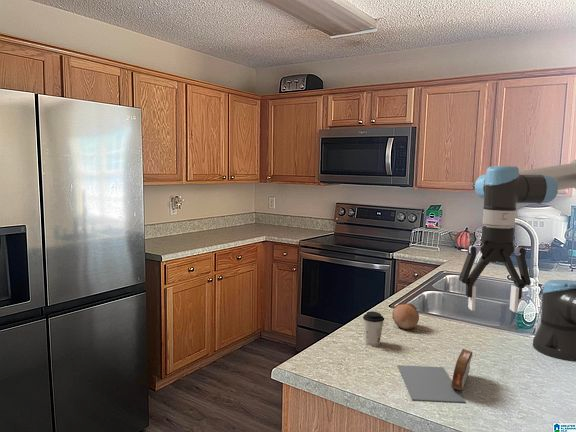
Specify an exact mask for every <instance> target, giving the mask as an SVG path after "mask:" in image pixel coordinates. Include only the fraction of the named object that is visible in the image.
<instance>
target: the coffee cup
mask: <svg viewBox="0 0 576 432" xmlns="http://www.w3.org/2000/svg"><path fill="white" fill-rule="evenodd" d="M362 319H363V328H364V329H363V330H364V341H365V344H366V345H367V346H371V347H378V346H380V343H381V337H382V331H383V326H384V321H385V317H384V316H383V315H382V314H381V313H380V312H377V311H373V310H372V311H367V312H366V313H365V314H363V316H362Z"/></svg>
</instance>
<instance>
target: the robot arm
mask: <svg viewBox="0 0 576 432" xmlns="http://www.w3.org/2000/svg"><path fill="white" fill-rule="evenodd" d="M567 189H568V190H569V189H575V190H576V159H574V160H572V161H571V162H569V163H566V164H557V165H556V164H555V165H550V166H544V167H537V168H536V167H535V168H531V169H530V168H529V169H523V170H522V169H521V170H520V169H519V167H518V166H510V165H509V166H508V165H507V166H506V165H493V166H492V165H491V166H489V167H488V168H487V169H486V171H485V174H481V175H480V176H479V177H478V178H476V180H475V182H474V192H475V194H476V195H477V196H478V197H479V198H481V199H483V209H482V210H483V212H482V224H483V226H482V227H481V242H480V244H479V245H475V246H474V245H471V244H470V245H468V246H467V256H466V259H465V261H464V263H463V266H462V269H461V272H460V274H459V277H458V280H459V281H460V282H461V283H462V284H465V296H466V297H467V298H468V300H467V302H468V305H467V308H468V309H469V310H470V311H472V312H475V311H476V297H477V295H476V294H477V286H476V285H475V283H476V281H478V279H479V277H480V275H481V274H482V272H483V271H484V270H485V269H486V267H487V266H488V265H489V264H490V263H496V262H497V263H503V264H504V266H505V269H506V270H507V272H508V274H509V275H510V277H511V278H510V279H511V280H512V281H513V284H514V285H513V284H512V285H511V286H510V295H509V296H510V299H509V310H510V311H512V312H513V313H518V309H519V307H518V306H519V300H521V299H522V297H523V289H524V288H525V287H526V286H531V285H532V284H531V282H532V281H531V277H530V273H529V269H528V265H527V260H526V253H527V250H526V248H525V247H521V246H518V247H516V246H514V241H515V240H514V239H515V229H514V227H515V225H516V215H517V214H516V212H517V204H537V205H541V204H546V203H551V202H552V201H554V199H556V198H557V196H558V191H561V190H567ZM479 252H481V256H480V257H479V260H478V262H477V263H476V265H475V266H474V268H473V265H474V263H475V260H476V258H477V255H478V254H479ZM513 253H514V255H515V258H516V259H515V260H516V263H517V266H518V267H517V268H518V271H519V273H518V271H517V269H516V268H515V265H514V263H513V260H512V259H511V255H512V254H513ZM472 268H473V269H472ZM540 313H541V314H540V323H539V326H538V329H537V331H536V332H535V335H534V337H533V339H532V348H534V349H535V350H536V351H537V352H538V353H541V354H543V355H547V356H549V357H553V358H556V359H561V360H567V361H576V280H573V279H551V280H547V281H546V282H545V283H544V284H543V290H542V300H541V312H540Z"/></svg>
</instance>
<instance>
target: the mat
mask: <svg viewBox="0 0 576 432" xmlns="http://www.w3.org/2000/svg"><path fill="white" fill-rule="evenodd" d="M397 369H398V370H399V373H400V376H401V377H402V380H403V383H404V385H405V386H406V387H405V388H406V390H407V392H408V393H409V396H410V399H411V401H416V402H417V401H419V402H420V401H422V402H439V403H442V402H443V403H463V404H466V401H465V399H464V398H463V396H462V394H461V393H460V390H457V389H455V388H451V384H452V378H451V377H450V376H449V375H448V373H447V371H446V370H445V369H444V367H443V366H428V365H427V366H426V365H425V366H424V365H403V364H402V365H401V364H397Z"/></svg>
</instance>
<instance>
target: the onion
mask: <svg viewBox="0 0 576 432" xmlns="http://www.w3.org/2000/svg"><path fill="white" fill-rule="evenodd" d="M391 318H392V320H393V322H394V323H395V325H396V326H397V327H398V328H401V329H403V330H407V329H408V330H413V329H414V328H416V327H417V325H418V324H419V320H420V315H419V311H418V308H417V307H416V306H415V305H414V304H413V303H411V302H407V303H402V304H397V305H396V306H395V307H394V308H393V310H392V317H391Z"/></svg>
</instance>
